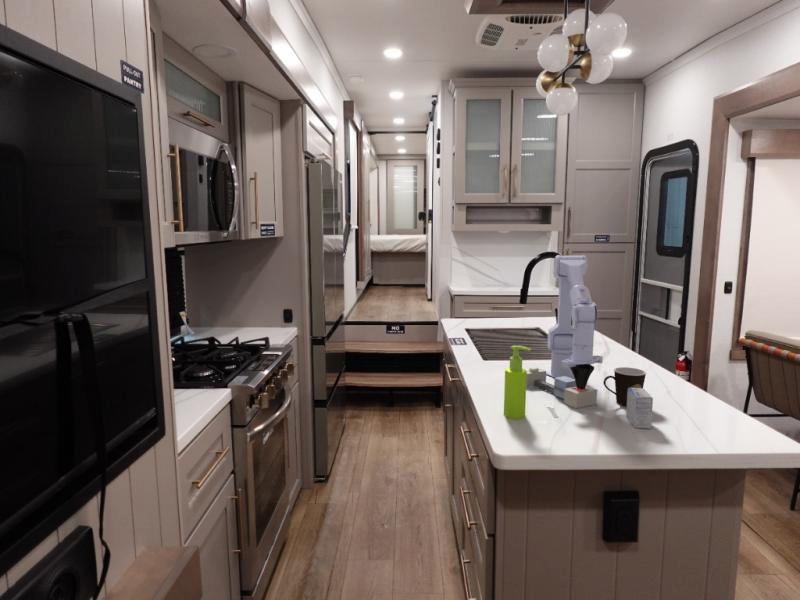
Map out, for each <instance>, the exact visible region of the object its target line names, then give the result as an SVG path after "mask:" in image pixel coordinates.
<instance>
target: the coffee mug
mask: <svg viewBox="0 0 800 600" xmlns="http://www.w3.org/2000/svg"><path fill="white" fill-rule="evenodd" d="M613 371H614V375H608V376H606V377H605V378H604V379H603V387H605V388H606V389H607V391H609V392H610V393H612V394H614V395H615V401H616V404H617V405H619V406H622V407H625V406H627V392H628V388H642V389H644V385H645V381H646V380H645V379H646V375H647V372H646V371H644V369H639V368H635V367H629V366H627V367H626V366H621V367H616V368H614V369H613ZM608 379H613V380H614V385H615V386H614V387H615V388H614V389H615V391H614V390H612V389H611V388H609V387H608V386H607V383H606V382H607V380H608Z"/></svg>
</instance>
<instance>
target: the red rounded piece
mask: <svg viewBox="0 0 800 600" xmlns="http://www.w3.org/2000/svg"><path fill="white" fill-rule="evenodd" d="M575 390H576V391H579V392H585V391H586V388H585V389H583V390H581V389H578V388H577V387H576V388H575Z"/></svg>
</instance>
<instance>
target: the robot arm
mask: <svg viewBox="0 0 800 600" xmlns="http://www.w3.org/2000/svg"><path fill="white" fill-rule="evenodd" d="M587 271H588V258H587V257H586V255H584V254H582V255H559V254H558V255H556V256H555V257H554V259H553V271H552V273H553V277H554V278H556V279H558V285H559V287H558V301H557V304H558V305H557V323H556V324H554V325H553V326H551V327H550V328H549V330H548V334H547V339H546V341H547V342H546V343H547V349H548V350H549V351H551V357H550V358H551V362H550V363H551V364H550V371H549V372H548V371H547V372H546V376H550V377H552V378H553V379H555V378H557V377H563V376H567V377H569V378H572V379H575V382H576V386H577V388H578V389H581V390H583V389H585V387H586V386H587V384H588V382H589V378H590V377H591V375H592V374H593V372H594V370H595V366H594V364H603V359H604V358H603V357H604V356H601V355H598V354H597V355H594V340H595V339H594V337H595V324H597V322H598V317H599V312H598V311H599V310H598V305H597V304H596V303H595V302H594V301H593V300H592V297H591V293H590V289H589V287H587V286H586V285H585V283H584V276H585V275H586V273H587Z"/></svg>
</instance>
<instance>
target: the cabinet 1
mask: <svg viewBox="0 0 800 600" xmlns="http://www.w3.org/2000/svg"><path fill="white" fill-rule="evenodd" d="M526 371H527V374H526V388H530V387H529V386H531V387H535V386H534V380H538V379H540V380H542V381H545V382H547V375H546V373H547V370H544V369H542V368H539V367H537V366H536V367H535V366H533V367H532V366H530V367H529V370H526Z"/></svg>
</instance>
